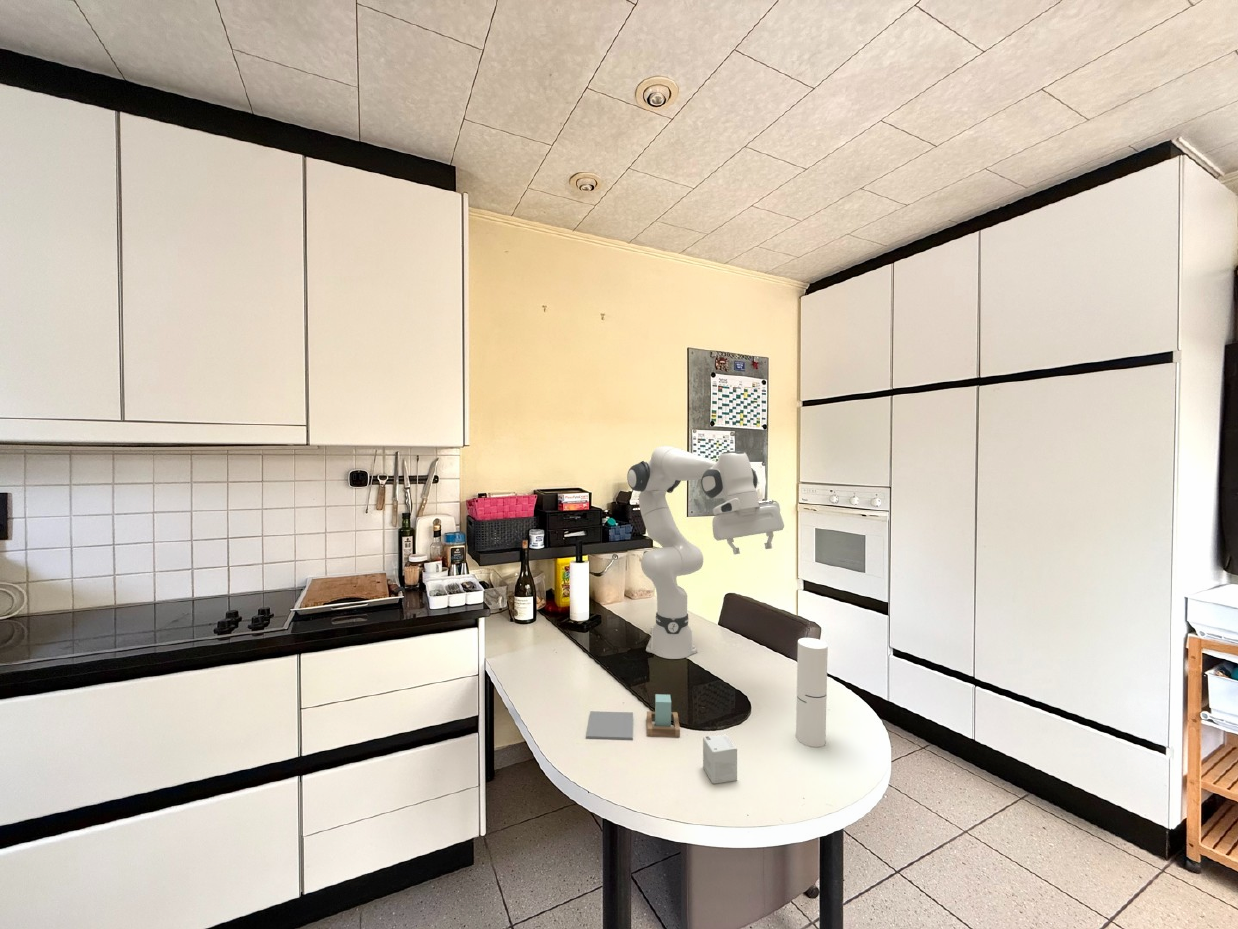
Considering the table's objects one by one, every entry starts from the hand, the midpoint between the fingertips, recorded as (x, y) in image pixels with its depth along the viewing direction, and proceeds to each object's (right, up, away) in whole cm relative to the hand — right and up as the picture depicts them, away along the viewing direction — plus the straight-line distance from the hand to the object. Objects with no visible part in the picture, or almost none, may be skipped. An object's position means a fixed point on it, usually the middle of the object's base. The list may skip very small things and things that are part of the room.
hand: (752, 551), depth 140 cm
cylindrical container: (+11, -46, -14) cm, 49 cm away
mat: (-41, -45, -9) cm, 62 cm away
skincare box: (-15, -46, -28) cm, 56 cm away
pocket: (-27, -45, -10) cm, 54 cm away
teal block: (-27, -45, -10) cm, 54 cm away
